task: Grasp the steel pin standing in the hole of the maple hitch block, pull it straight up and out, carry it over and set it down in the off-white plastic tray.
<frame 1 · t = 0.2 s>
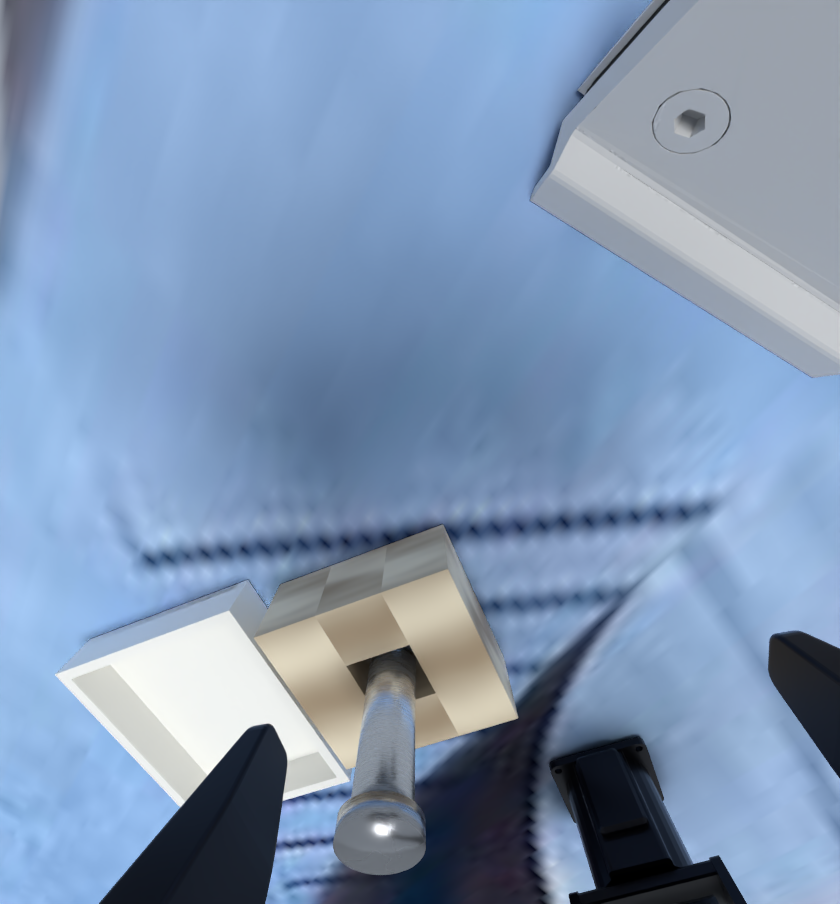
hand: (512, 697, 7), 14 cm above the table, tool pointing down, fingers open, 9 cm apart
hinge: (734, 209, 18), on the table
tray: (230, 692, 26), on the table
hitch block: (395, 622, 25), on the table
pin: (389, 705, 19), in the hitch block
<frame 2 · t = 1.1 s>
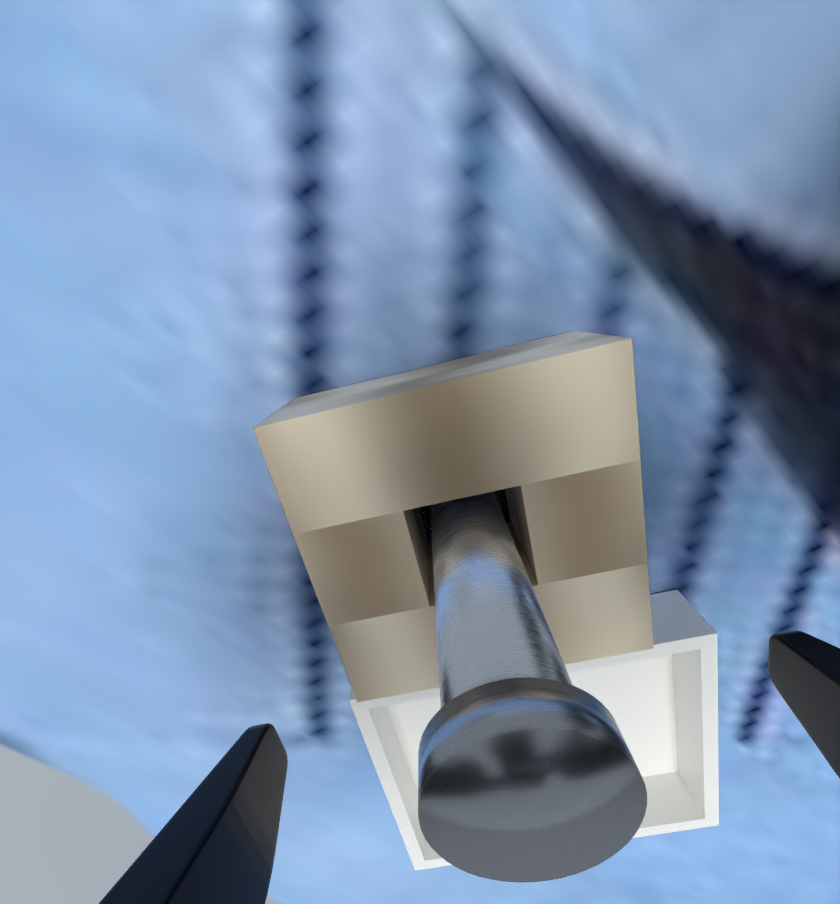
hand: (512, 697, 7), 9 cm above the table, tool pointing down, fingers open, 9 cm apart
tray: (531, 712, 20), on the table
hitch block: (460, 492, 16), on the table
pin: (479, 577, 11), in the hitch block
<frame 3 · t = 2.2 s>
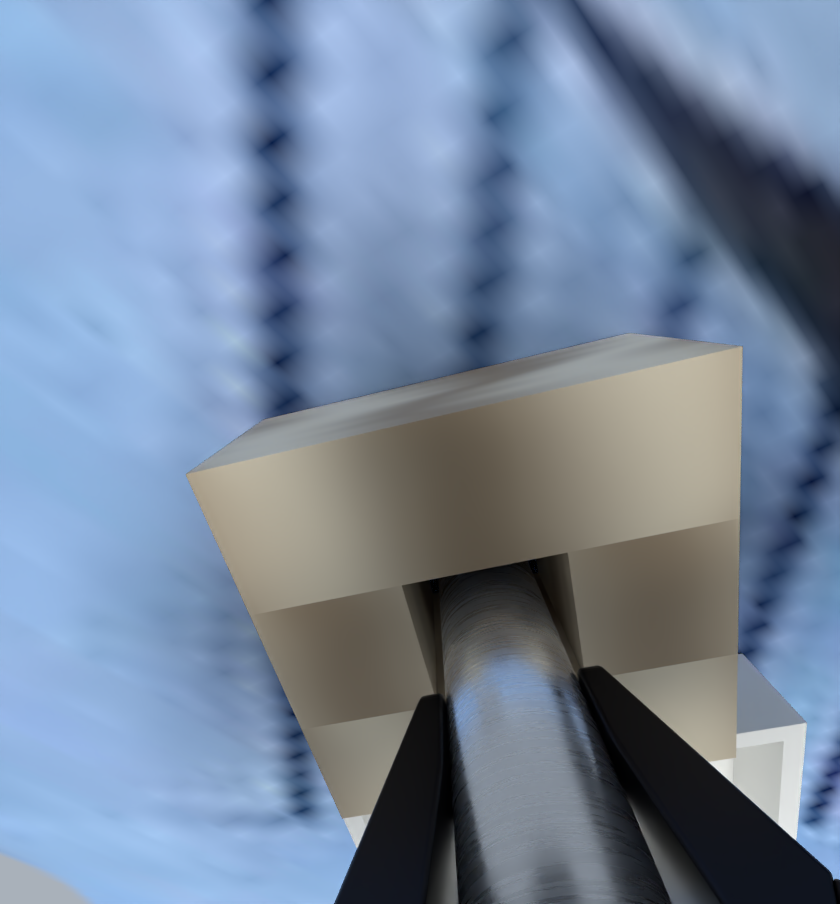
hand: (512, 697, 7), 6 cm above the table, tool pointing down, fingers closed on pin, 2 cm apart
tray: (557, 791, 16), on the table
hitch block: (475, 537, 13), on the table
pin: (510, 691, 8), in the hitch block, touching gripper
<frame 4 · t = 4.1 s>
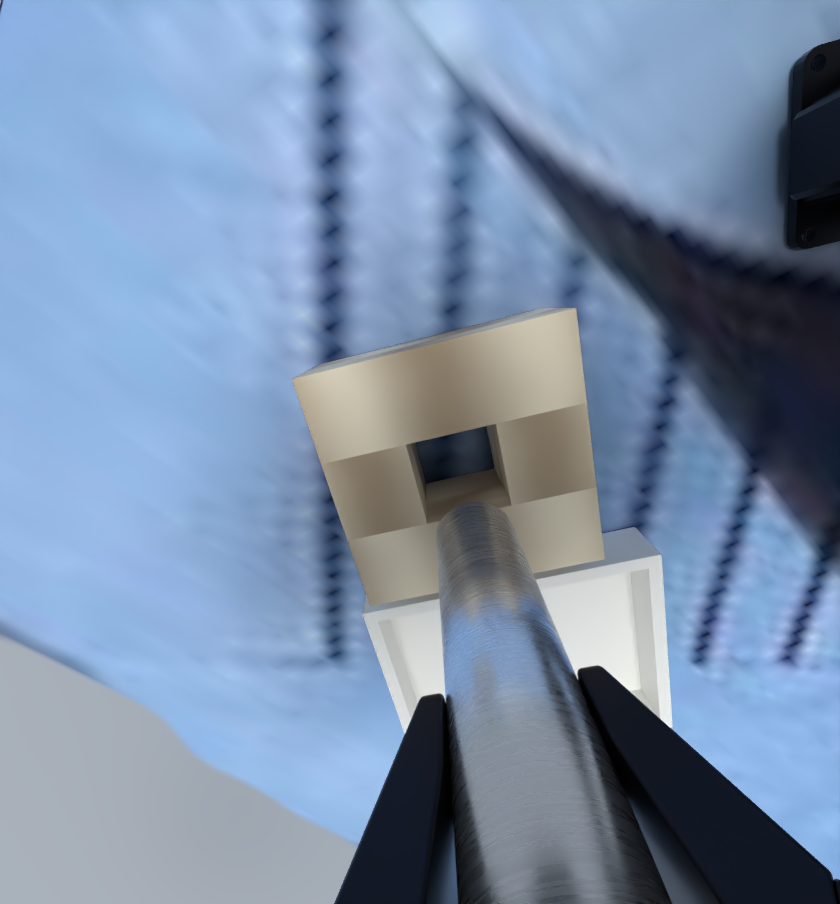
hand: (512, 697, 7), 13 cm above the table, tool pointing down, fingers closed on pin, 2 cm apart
tray: (515, 637, 23), on the table
hitch block: (452, 443, 20), on the table
pin: (510, 691, 8), point 13 cm above the table, touching gripper
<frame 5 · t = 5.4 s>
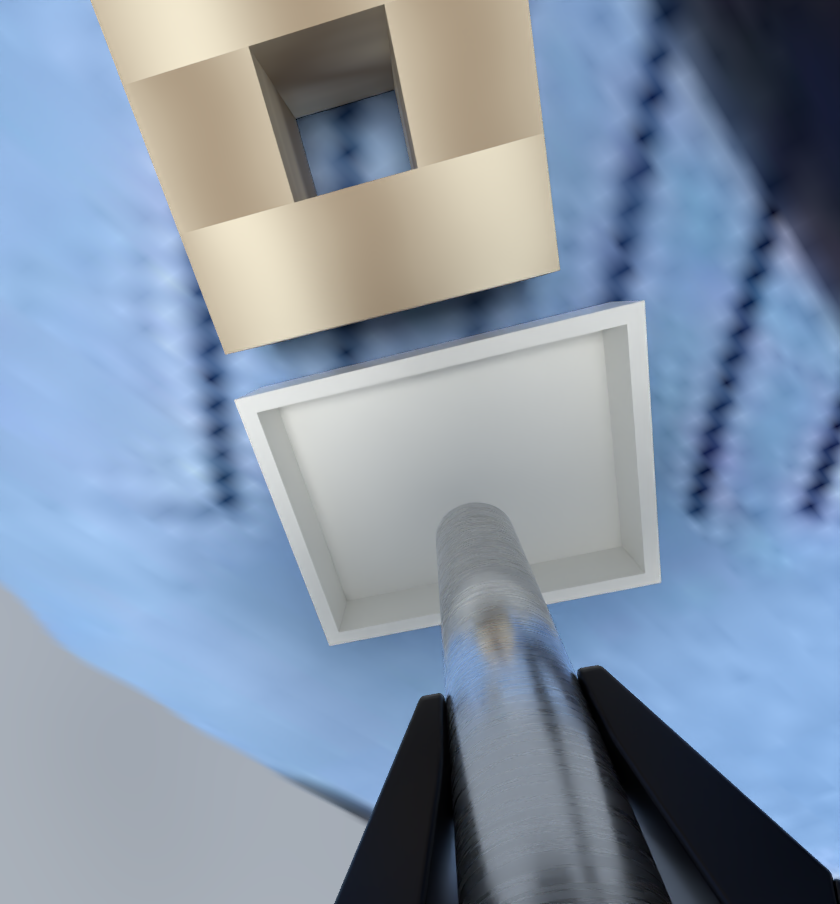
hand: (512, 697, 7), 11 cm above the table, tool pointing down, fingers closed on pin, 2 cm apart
tray: (458, 473, 18), on the table
hitch block: (358, 163, 14), on the table
pin: (511, 692, 8), point 11 cm above the table, touching gripper
when the fingers open (8 cm above the table, at t = 6.1 s): pin drops 1 cm, resting on tray.
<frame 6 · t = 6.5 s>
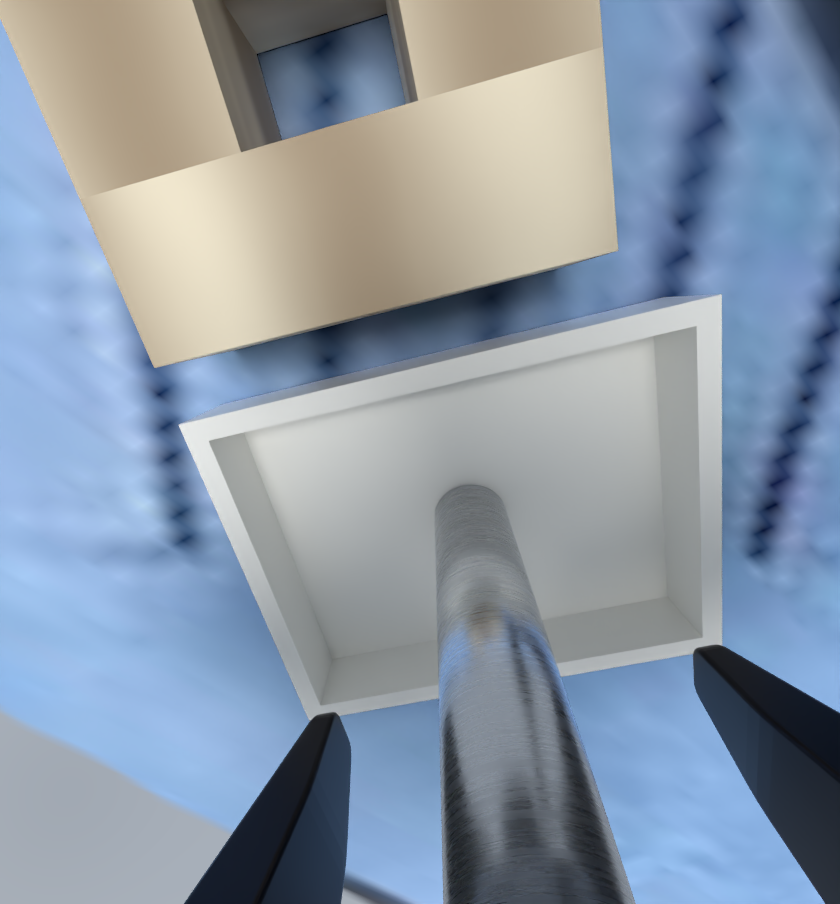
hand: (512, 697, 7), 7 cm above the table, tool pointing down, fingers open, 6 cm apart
tray: (467, 508, 15), on the table
hitch block: (341, 114, 11), on the table
pin: (492, 648, 9), in the tray
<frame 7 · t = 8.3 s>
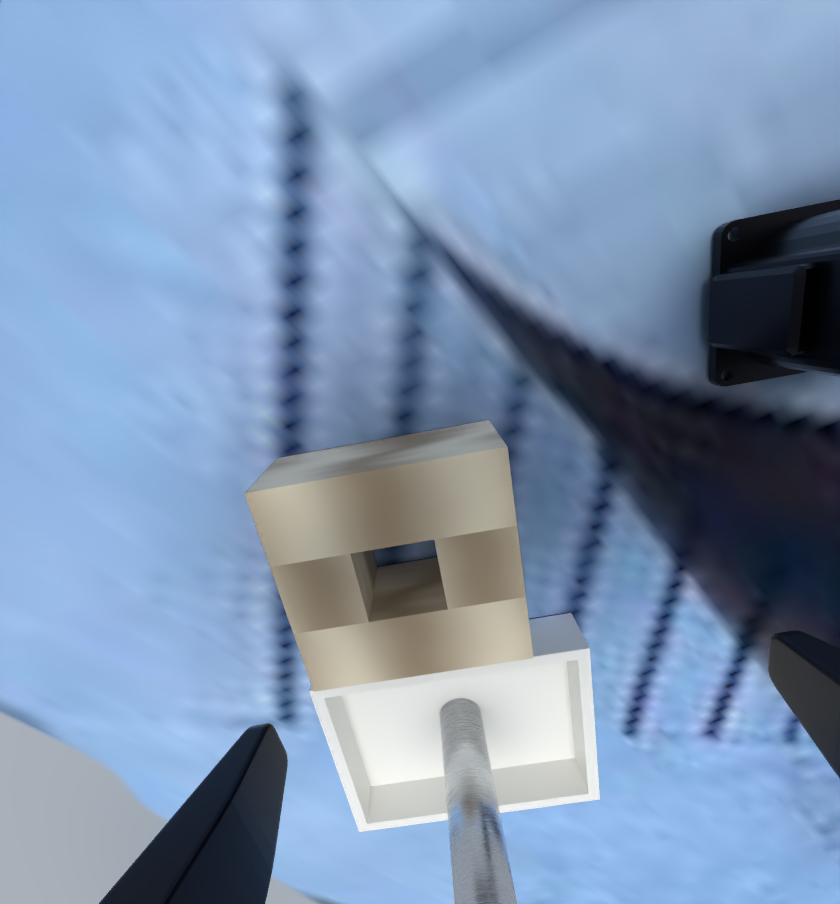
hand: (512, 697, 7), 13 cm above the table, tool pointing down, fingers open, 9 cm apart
tray: (459, 706, 25), on the table
hitch block: (402, 533, 21), on the table
pin: (474, 821, 19), in the tray
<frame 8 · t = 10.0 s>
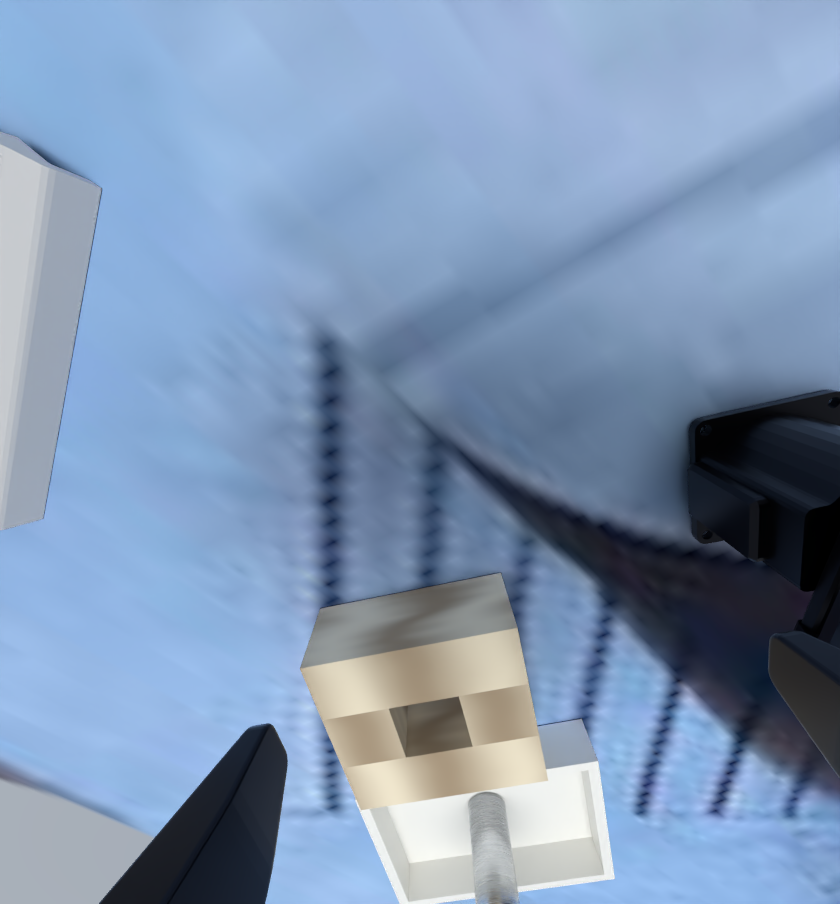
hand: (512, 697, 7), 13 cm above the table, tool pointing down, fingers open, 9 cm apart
tray: (485, 795, 28), on the table
hitch block: (429, 661, 24), on the table
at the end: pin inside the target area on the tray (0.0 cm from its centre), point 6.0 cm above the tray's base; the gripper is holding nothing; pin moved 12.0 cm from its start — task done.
